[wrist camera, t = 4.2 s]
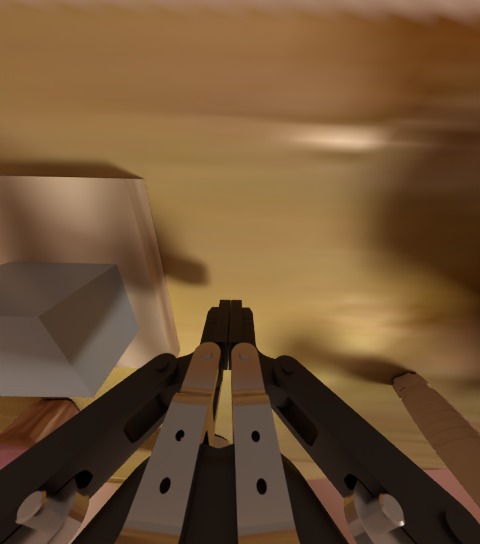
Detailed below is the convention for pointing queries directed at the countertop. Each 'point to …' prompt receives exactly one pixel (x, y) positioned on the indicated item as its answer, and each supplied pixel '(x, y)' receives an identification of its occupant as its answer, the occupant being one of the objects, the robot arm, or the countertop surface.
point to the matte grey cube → (61, 327)
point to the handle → (443, 430)
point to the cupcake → (33, 427)
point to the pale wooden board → (93, 243)
